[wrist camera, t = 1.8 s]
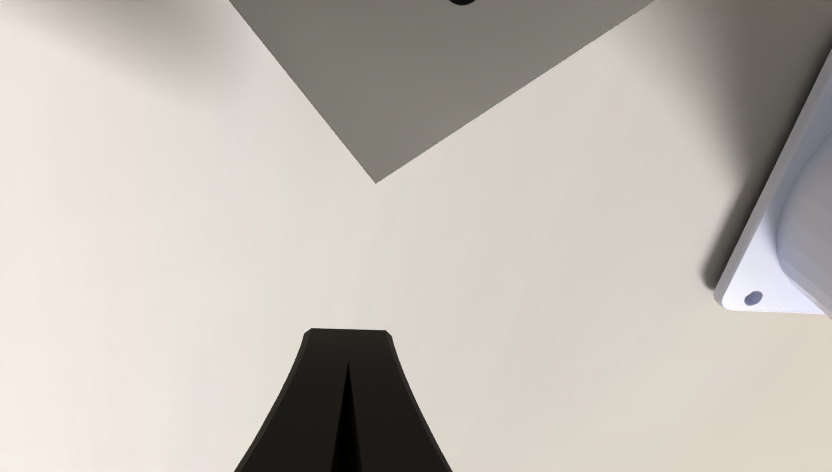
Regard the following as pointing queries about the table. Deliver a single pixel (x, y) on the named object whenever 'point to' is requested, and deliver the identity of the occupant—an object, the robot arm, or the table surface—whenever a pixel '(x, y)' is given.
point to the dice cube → (419, 61)
